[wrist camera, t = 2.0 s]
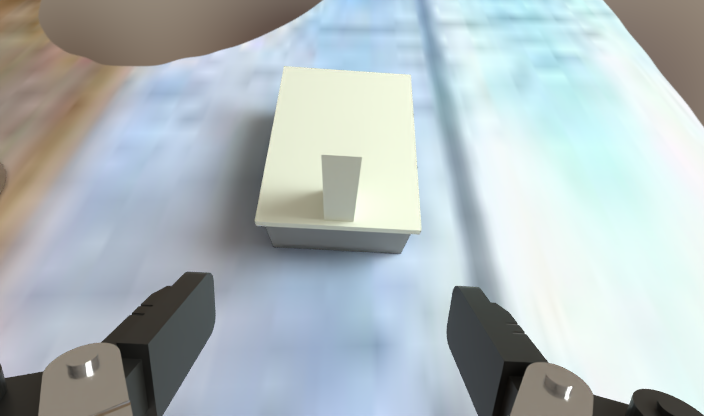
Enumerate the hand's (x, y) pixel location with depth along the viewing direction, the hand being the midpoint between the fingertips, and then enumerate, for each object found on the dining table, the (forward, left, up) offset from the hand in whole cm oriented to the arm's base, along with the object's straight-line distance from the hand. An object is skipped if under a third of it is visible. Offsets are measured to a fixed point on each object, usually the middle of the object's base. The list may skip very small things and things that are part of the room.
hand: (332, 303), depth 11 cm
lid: (-17, +10, -16) cm, 25 cm away
